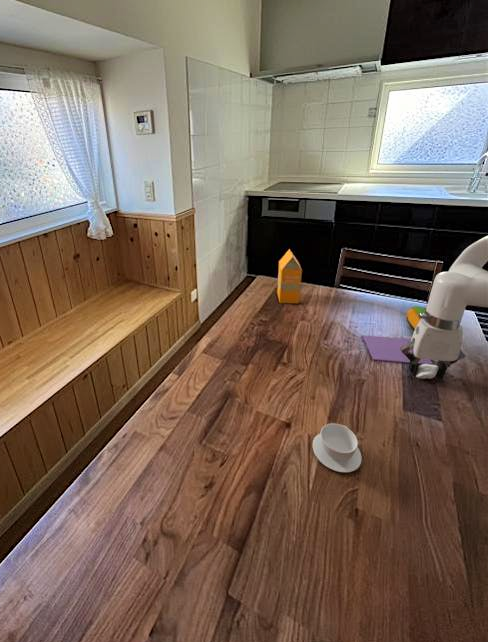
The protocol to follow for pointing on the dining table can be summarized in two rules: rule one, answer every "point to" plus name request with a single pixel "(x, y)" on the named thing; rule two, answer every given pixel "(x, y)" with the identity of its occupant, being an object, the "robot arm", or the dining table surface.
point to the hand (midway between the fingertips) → (425, 373)
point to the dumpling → (427, 371)
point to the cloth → (389, 349)
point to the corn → (414, 316)
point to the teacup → (337, 448)
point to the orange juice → (289, 279)
